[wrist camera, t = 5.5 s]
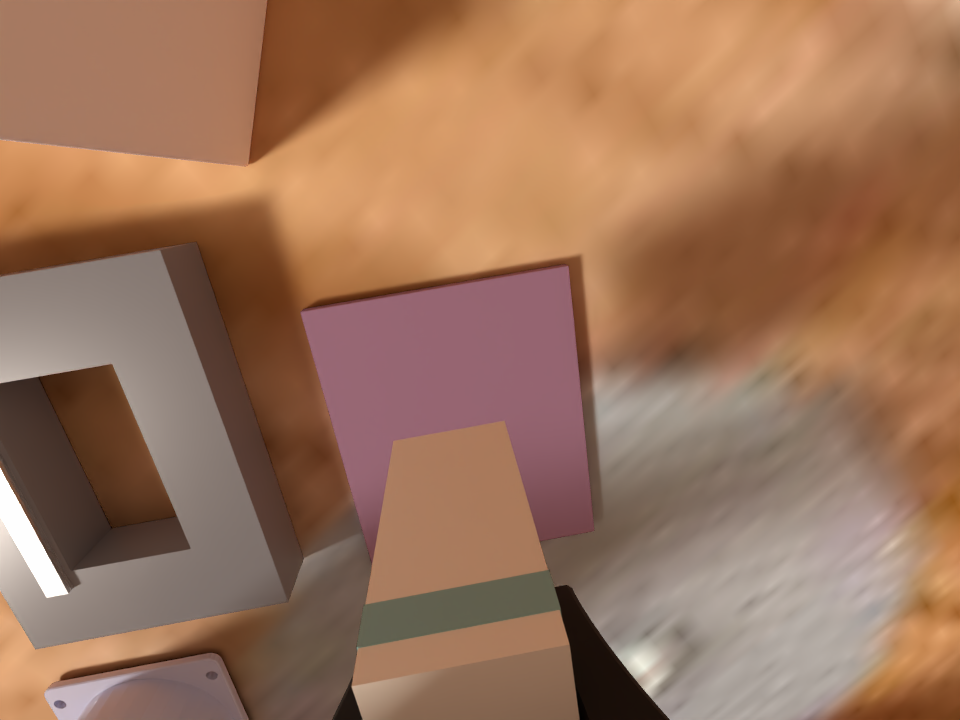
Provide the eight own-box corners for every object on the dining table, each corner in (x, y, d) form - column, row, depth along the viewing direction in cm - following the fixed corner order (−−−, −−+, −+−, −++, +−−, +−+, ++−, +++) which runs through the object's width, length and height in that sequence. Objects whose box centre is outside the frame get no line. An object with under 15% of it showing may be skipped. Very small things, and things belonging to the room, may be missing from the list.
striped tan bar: (532, 595, 15) (604, 899, 9) (435, 614, 15) (434, 935, 9) (505, 420, 13) (571, 642, 7) (392, 440, 13) (349, 685, 7)
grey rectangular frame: (303, 558, 23) (286, 607, 20) (78, 600, 22) (29, 655, 20) (196, 241, 18) (154, 251, 15) (-91, 289, 18) (-184, 307, 15)
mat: (591, 523, 23) (594, 531, 23) (375, 564, 23) (373, 572, 22) (565, 264, 19) (568, 266, 19) (303, 309, 19) (300, 312, 18)
